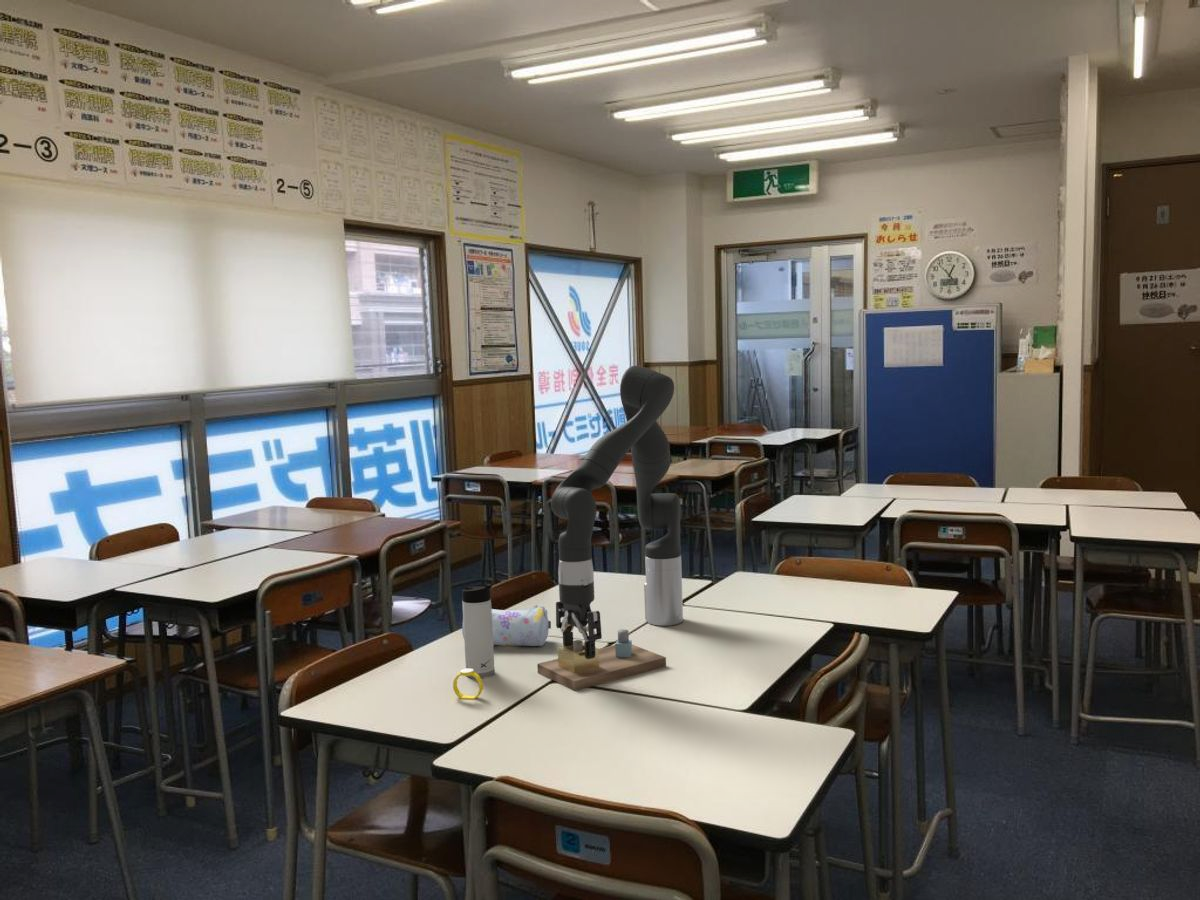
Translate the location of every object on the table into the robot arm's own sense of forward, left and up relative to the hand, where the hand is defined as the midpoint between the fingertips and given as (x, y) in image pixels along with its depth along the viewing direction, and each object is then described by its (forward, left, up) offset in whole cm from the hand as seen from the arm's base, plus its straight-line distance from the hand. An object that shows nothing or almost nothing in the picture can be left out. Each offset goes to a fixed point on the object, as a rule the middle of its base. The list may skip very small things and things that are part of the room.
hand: (579, 653), depth 206 cm
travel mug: (-15, -16, -5) cm, 23 cm away
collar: (0, 0, -3) cm, 3 cm away
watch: (-3, -25, -5) cm, 26 cm away
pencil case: (-31, -1, -5) cm, 32 cm away
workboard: (0, +6, -5) cm, 8 cm away
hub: (0, +12, -3) cm, 12 cm away
